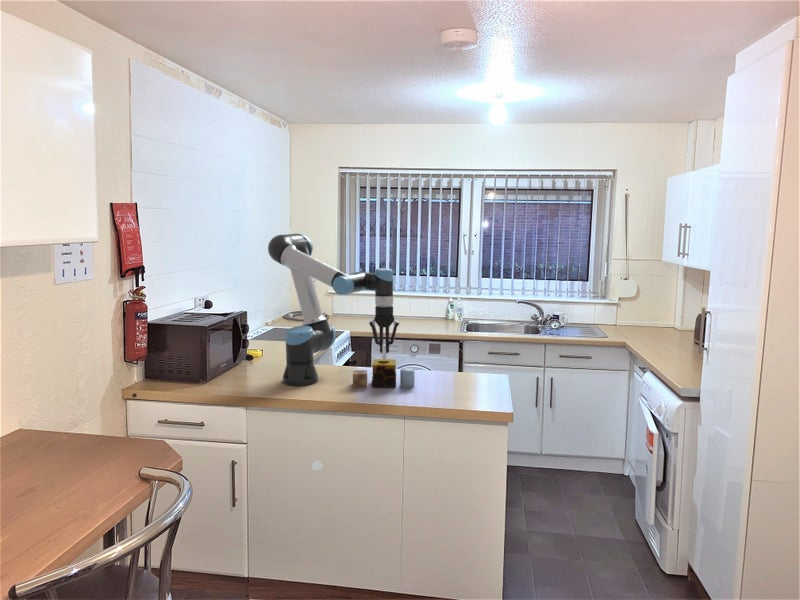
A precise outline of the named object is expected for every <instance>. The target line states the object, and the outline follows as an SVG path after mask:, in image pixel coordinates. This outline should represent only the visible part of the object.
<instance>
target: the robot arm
mask: <svg viewBox="0 0 800 600" xmlns="http://www.w3.org/2000/svg"><path fill="white" fill-rule="evenodd" d="M313 250H314V246H313V243H312V241H311V239H310V238H309V237H308V236H307V235H306V234H305V235H304V234H303V233H291V234H290V233H289V234H278V235H275V236H273V237H272V238H271V239H270V241H268V246H267V252H268V255H269V256H270V258H271V259H272V260H273V261H275V262H276V263H278V264H280V265H282V266H285V267H286V268H288V269H289V270H290V272H291V273H290V274H291V277H292V279H293V283H294V288H295V291H296V295H297V299H298V303H299V307H300V310H301V315H302V317H303V322H302V323H301V325H298V326H294V327H291V328H289V329H287V331H286V333H285V339H284V340H285V341H284V342H285V356H286V357H285V358H286V359H285V361H286V365H285V367H284V370H283V371H284V372H283V375H282V383H284V384H285V385H288V386H296V387H297V386H310V385H314V384H315V383H317V382H318V381H319V375H318V371H317V369H316V366H315V363H314V361H315V360H314V354H316V353H319V352H321V351H326V350H327V349H329V348H331V347H332V346H333V345H334V344H335V342H336V339H337V333H336V329H335V327H334V326H333V325H332V324H331V323H329V322H328V318H327V317H325V316H323V312H322V308H321V305H320V301H319V297H318V294H317V289H316V287H315V282H314V279H315V280H317V281H319V282H320V283H323V284H325V285H327V286H329V287H330V288H332V290H333V291H334V292H335V293H336V294H337V295H338V296H346V295H347V296H348V295H349V294H354V293H358V292H361V291H370V292H371V291H373V292H375V293H374V300H375V301H374V302H375V303H374V304H375V307H374V309H375V311H374V312H375V313H374V314H375V316H374V319H373V320H370V321H369V323H368V324H369V326H370V327H371V330H372V335H373V339H374V343H375V345H379V354H382V357H381V359H382V361H386V360H387V359H388V354H389V352H390V345H393V344H394V342H395V337H396V334H397V330H398V329H397V328H398V326H400V322H401V321H398V320H396V319H395V317H394V306H393V305H394V276H393V275H394V272H393V269H392V268H385V267H384V268H383V267H382V268H381V267H380V268H375V269H374V272H363V271H353V272H351V274H347V273H345V272H343V271H341V270H339V269H337V268H335V267H334V266H330V265H329V264H327V263H325V262H323V261H321V260H319V259H317V258H315V257H314V256H312V254H313V252H314V251H313ZM376 324H377V326H378V327H379V330H378V331H379V334H378V332H377V328H376V327H377V326H376ZM392 324H393V329H392V333H391V335H390V327H391V326H392ZM384 328H385V329H384ZM384 330H385V344H384ZM378 335H379V336H378ZM390 336H391V337H390Z"/></svg>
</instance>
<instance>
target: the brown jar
mask: <svg viewBox="0 0 800 600" xmlns="http://www.w3.org/2000/svg"><path fill="white" fill-rule="evenodd" d="M359 388H360V389H363V388H365V389H367V388H368V370H367V369H360V370H359V369H356V370H355V369H353V370H352V389H359Z"/></svg>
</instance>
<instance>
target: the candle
mask: <svg viewBox="0 0 800 600" xmlns="http://www.w3.org/2000/svg"><path fill="white" fill-rule="evenodd" d="M396 361H397V360H396V359H392V358H389V359H388V358H387V360H386V361H382V358H381V359H379V358H378V359H377V358H375V359H373V360H372V366H371V367H372V375H371V377H372V378H371V387H372V388H375V389H376V388H377V389H379V388H381V389H383V388H386V389H387V388H388V389H389V388H391V389H395V388H397V370H396V369H397V368H396V365H397V364H396Z"/></svg>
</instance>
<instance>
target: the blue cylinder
mask: <svg viewBox="0 0 800 600" xmlns="http://www.w3.org/2000/svg"><path fill="white" fill-rule="evenodd" d="M399 371H400V373H399V374H400V376H399V377H400V379H399V382H400V383H399V385H400V388H403V389H413V388H415V373H416V372H415V368H409V367H406V368H401V369H399Z"/></svg>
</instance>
